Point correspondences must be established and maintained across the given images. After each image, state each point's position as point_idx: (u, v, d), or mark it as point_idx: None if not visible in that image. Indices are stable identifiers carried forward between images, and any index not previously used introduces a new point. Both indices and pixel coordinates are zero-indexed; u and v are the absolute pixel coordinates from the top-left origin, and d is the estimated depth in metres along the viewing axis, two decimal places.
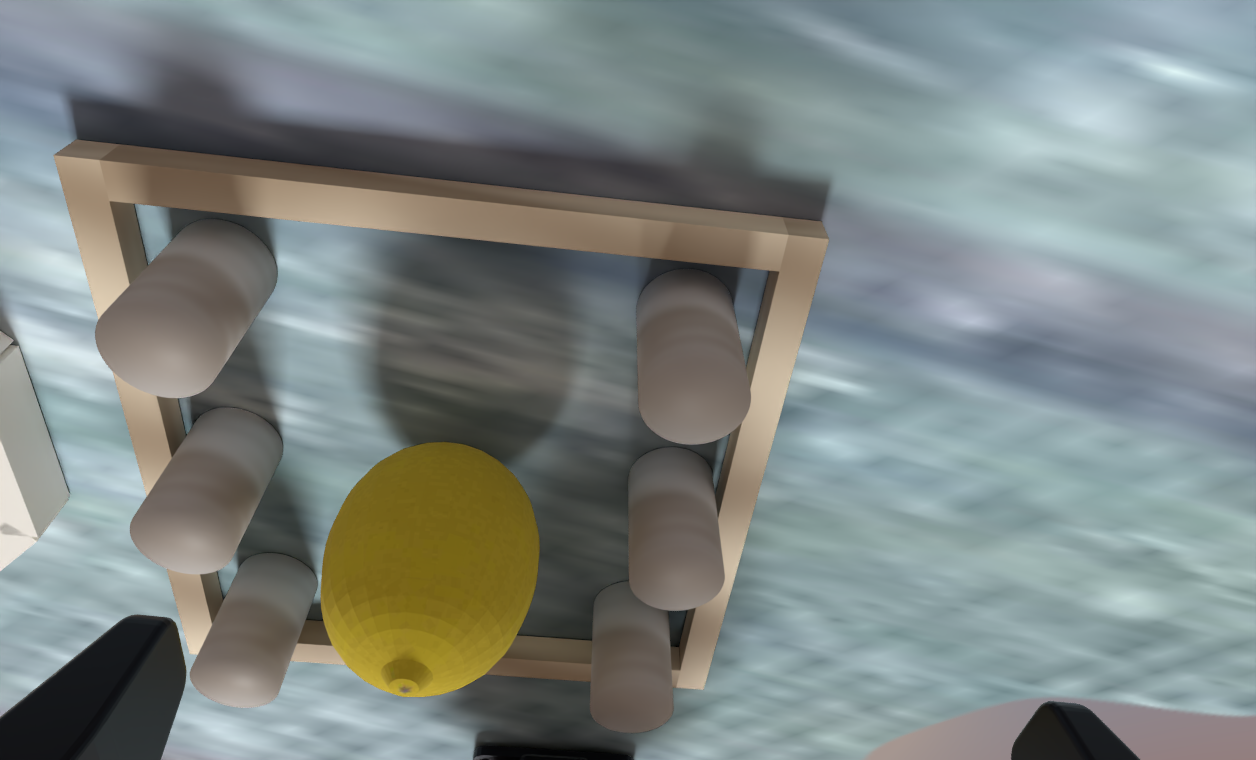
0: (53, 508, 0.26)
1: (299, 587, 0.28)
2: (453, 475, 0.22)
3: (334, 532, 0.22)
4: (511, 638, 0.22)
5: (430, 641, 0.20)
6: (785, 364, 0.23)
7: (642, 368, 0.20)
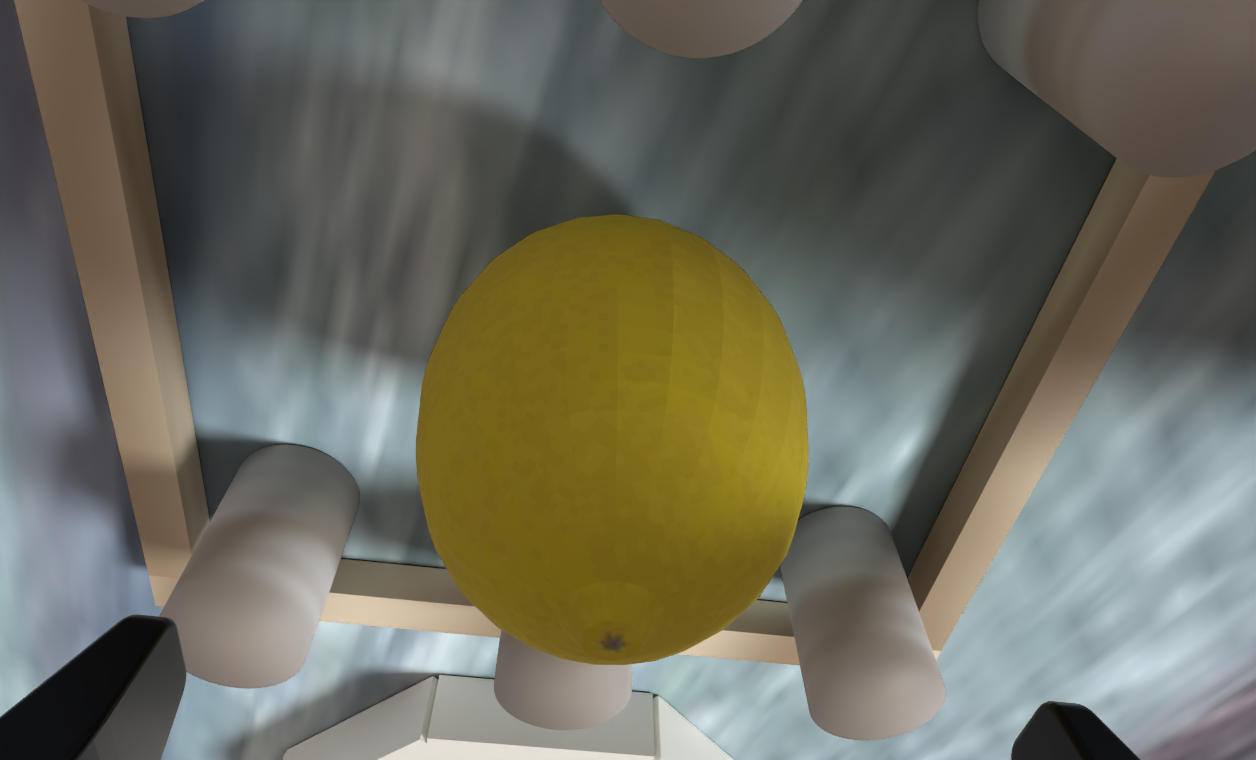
0: (643, 721, 0.22)
1: (822, 541, 0.19)
2: None
3: None
4: (660, 383, 0.10)
5: (528, 561, 0.10)
6: None
7: None
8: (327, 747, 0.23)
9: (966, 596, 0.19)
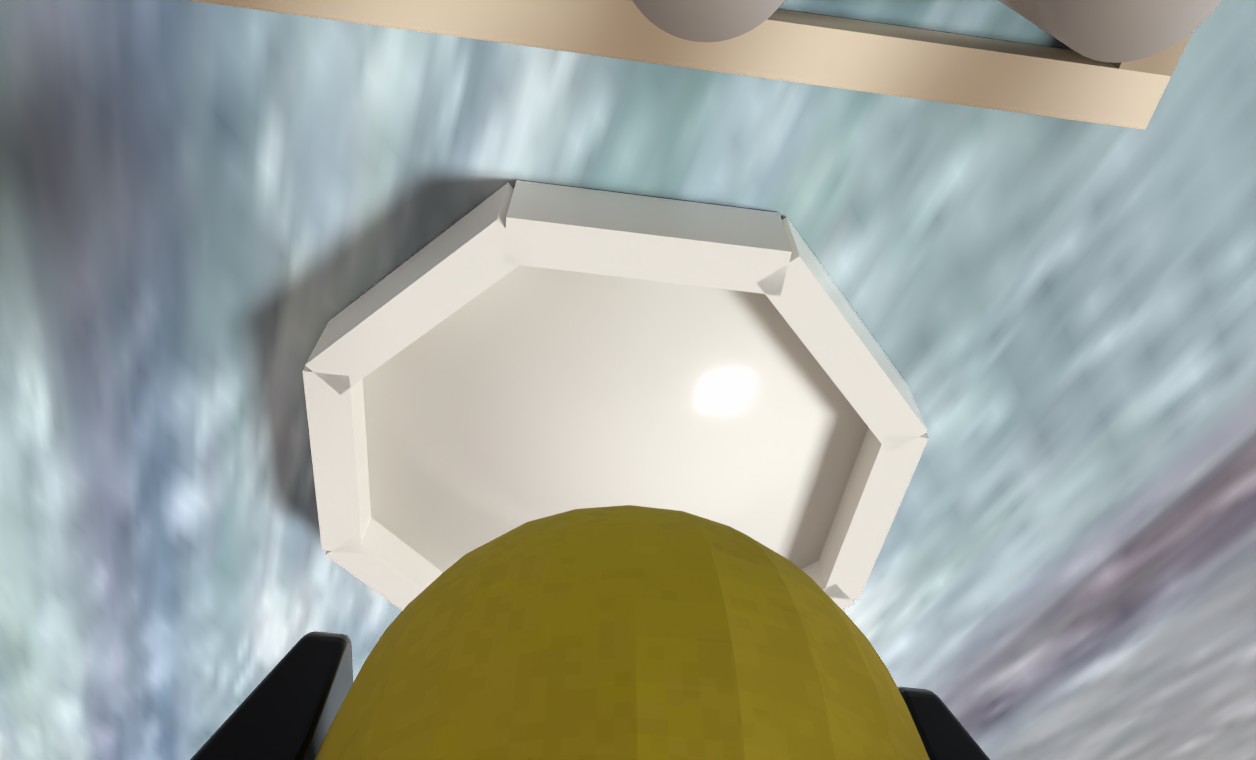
0: (773, 228, 0.18)
1: None
2: None
3: None
4: None
5: None
6: None
7: None
8: (379, 291, 0.19)
9: None
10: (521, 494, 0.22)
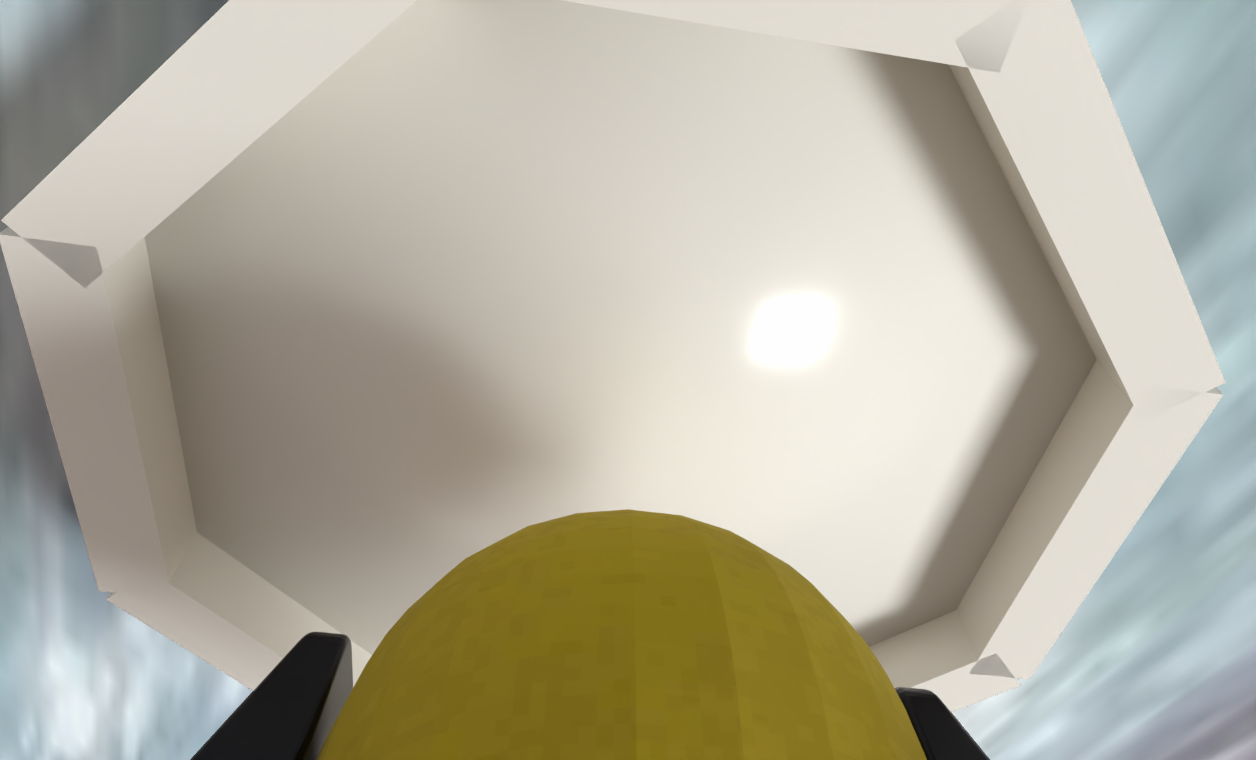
0: None
1: None
2: None
3: None
4: None
5: None
6: None
7: None
8: None
9: None
10: (459, 495, 0.13)
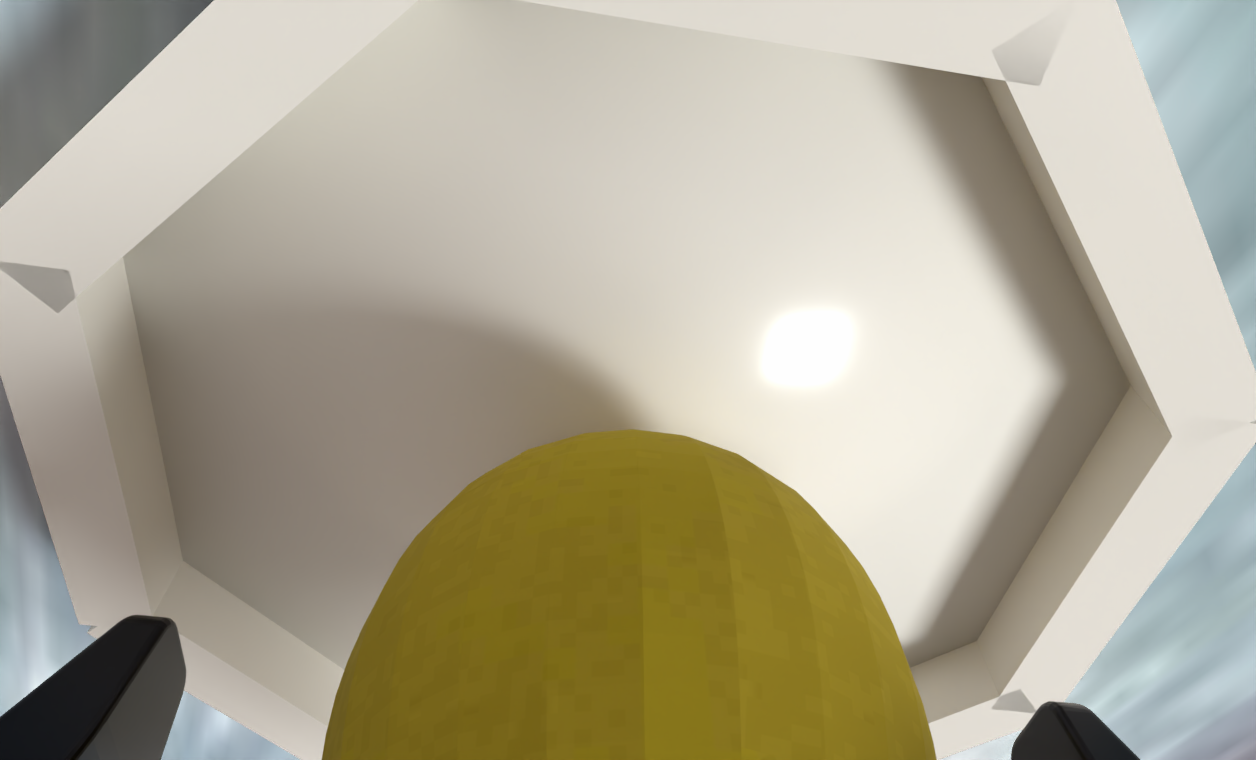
0: None
1: None
2: (347, 667, 0.08)
3: None
4: None
5: None
6: None
7: None
8: None
9: None
10: None
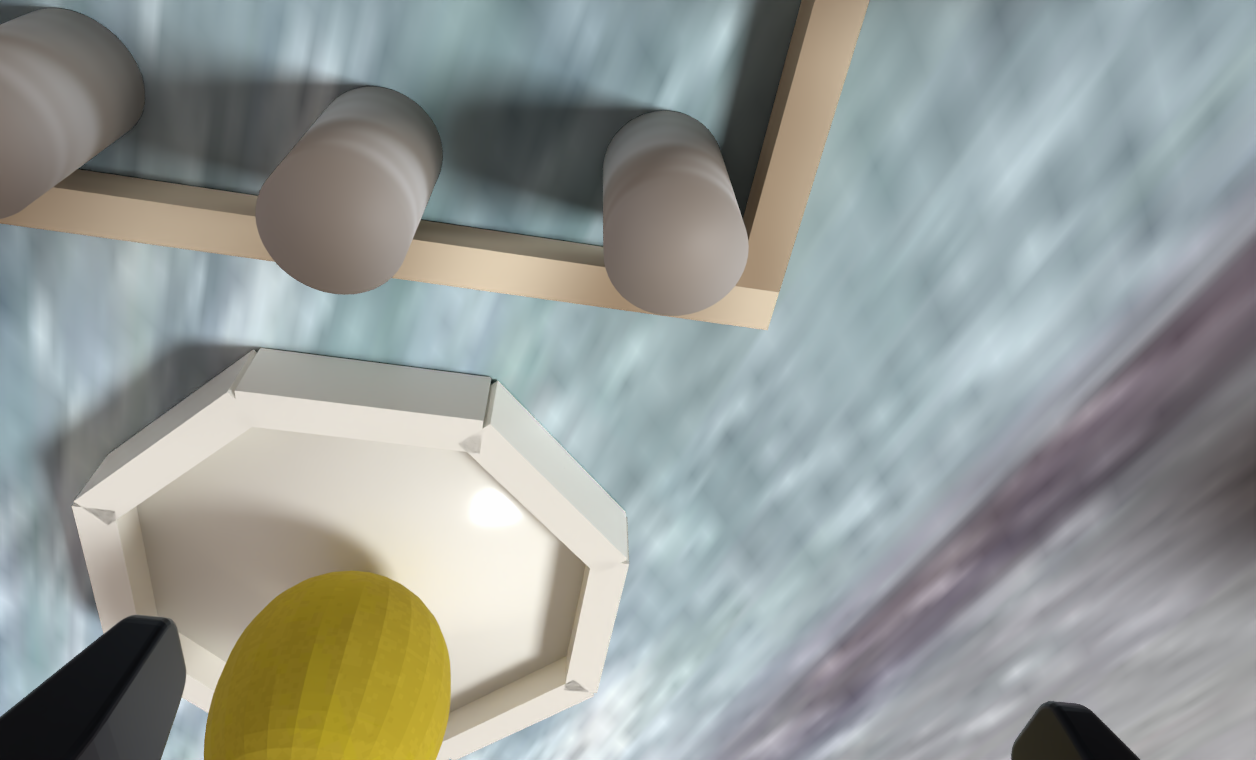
0: (477, 395, 0.21)
1: (637, 131, 0.17)
2: None
3: None
4: (318, 729, 0.18)
5: None
6: None
7: None
8: (144, 436, 0.22)
9: (797, 212, 0.18)
10: None
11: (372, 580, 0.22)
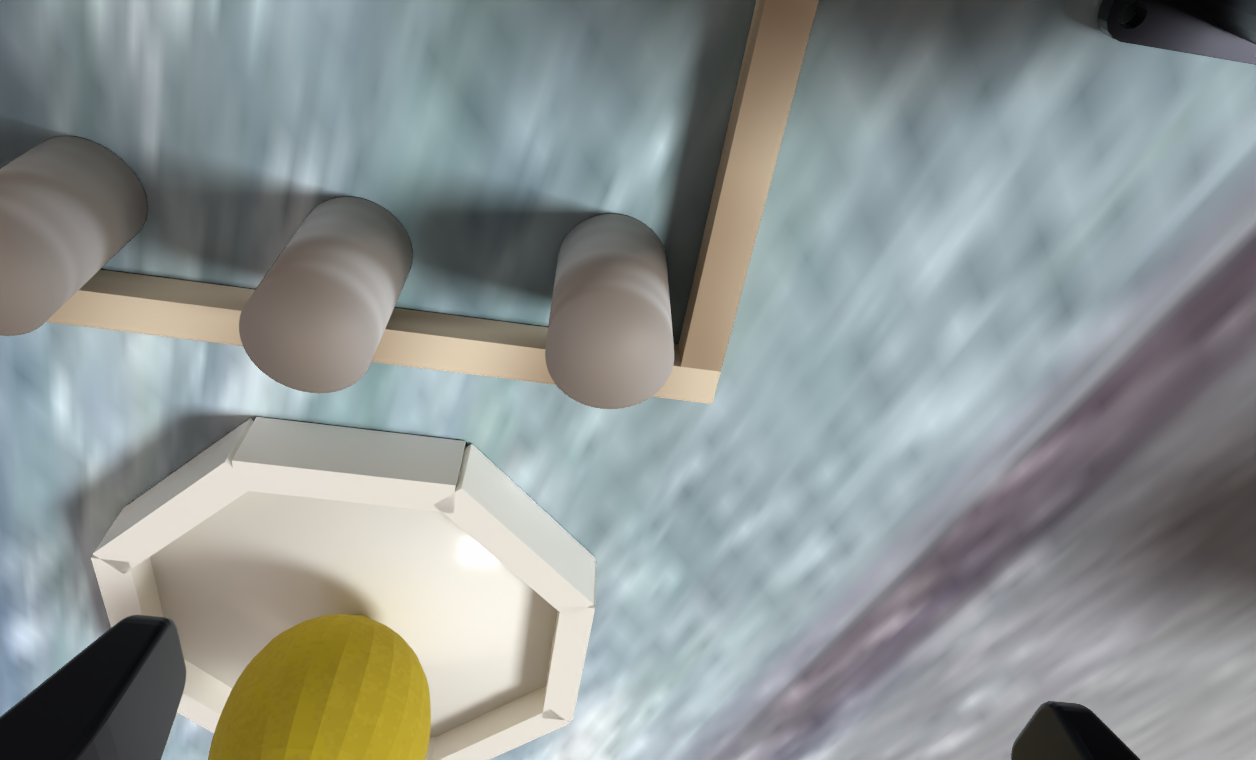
0: (451, 460, 0.23)
1: (583, 236, 0.19)
2: None
3: None
4: None
5: None
6: None
7: None
8: (154, 494, 0.24)
9: (732, 303, 0.20)
10: None
11: (359, 625, 0.24)
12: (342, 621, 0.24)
